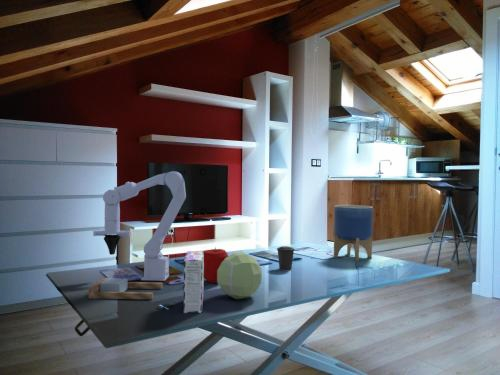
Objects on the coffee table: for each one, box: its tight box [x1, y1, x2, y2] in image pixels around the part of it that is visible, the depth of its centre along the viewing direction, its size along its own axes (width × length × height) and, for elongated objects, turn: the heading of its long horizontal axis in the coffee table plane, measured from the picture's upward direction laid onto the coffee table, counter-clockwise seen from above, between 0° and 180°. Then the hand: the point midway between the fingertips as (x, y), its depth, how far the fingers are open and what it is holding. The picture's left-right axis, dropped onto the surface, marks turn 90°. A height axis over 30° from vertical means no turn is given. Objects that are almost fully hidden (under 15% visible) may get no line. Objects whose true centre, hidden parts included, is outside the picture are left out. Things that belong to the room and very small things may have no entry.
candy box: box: [183, 250, 205, 314], centre depth 127 cm, size 14×6×16 cm, turn 5°
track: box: [88, 277, 163, 300], centre depth 140 cm, size 22×13×4 cm, turn 88°
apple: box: [203, 247, 229, 284], centre depth 156 cm, size 11×10×14 cm
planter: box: [333, 204, 374, 263], centre depth 205 cm, size 19×19×26 cm
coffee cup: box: [276, 245, 296, 271], centre depth 178 cm, size 8×8×10 cm
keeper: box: [100, 277, 129, 292], centre depth 142 cm, size 7×7×4 cm
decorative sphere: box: [217, 252, 263, 300], centre depth 137 cm, size 15×15×15 cm
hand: (112, 254), depth 159 cm, fingers closed
